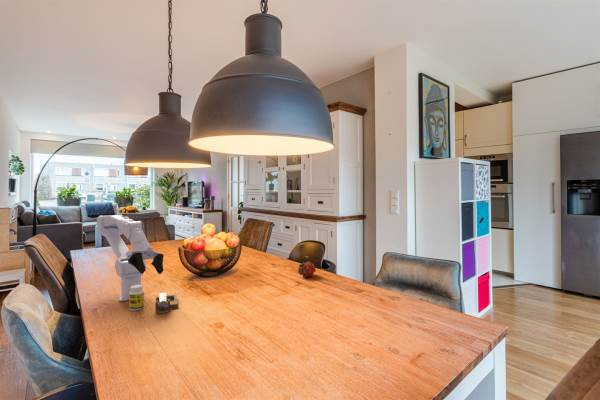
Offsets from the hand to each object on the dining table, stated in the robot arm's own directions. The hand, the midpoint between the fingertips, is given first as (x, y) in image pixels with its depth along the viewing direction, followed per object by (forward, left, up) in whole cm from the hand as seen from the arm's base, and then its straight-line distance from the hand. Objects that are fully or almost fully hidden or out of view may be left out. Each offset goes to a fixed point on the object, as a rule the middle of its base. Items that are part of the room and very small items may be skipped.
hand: (152, 272), depth 113 cm
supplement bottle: (-3, -6, -14) cm, 15 cm away
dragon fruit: (-17, +71, -14) cm, 75 cm away
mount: (-1, +5, -14) cm, 14 cm away
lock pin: (+1, +3, -12) cm, 13 cm away
